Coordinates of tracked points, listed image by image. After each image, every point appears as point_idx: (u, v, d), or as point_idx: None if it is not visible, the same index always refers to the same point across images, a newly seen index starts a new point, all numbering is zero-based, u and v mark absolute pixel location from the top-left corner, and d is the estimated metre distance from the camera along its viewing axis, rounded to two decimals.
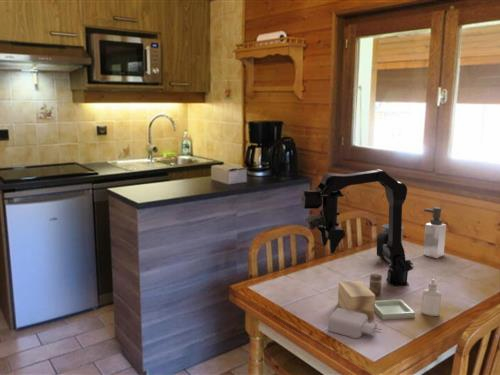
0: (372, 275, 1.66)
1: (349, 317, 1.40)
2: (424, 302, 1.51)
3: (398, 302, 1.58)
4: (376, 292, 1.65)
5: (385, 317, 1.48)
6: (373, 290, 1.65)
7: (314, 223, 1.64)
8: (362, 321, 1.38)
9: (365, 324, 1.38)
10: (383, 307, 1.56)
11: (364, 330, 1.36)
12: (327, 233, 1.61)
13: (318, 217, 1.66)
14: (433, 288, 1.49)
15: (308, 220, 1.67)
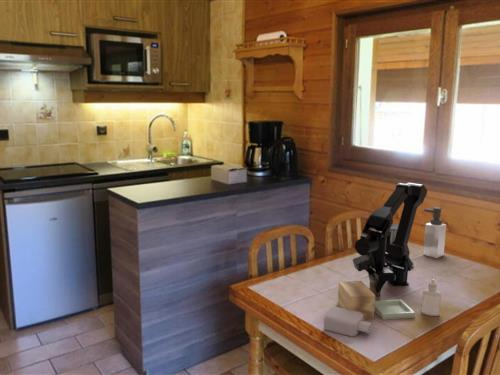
0: None
1: (345, 315, 1.41)
2: (424, 302, 1.51)
3: (398, 302, 1.58)
4: None
5: (385, 317, 1.48)
6: (373, 290, 1.65)
7: (363, 265, 1.59)
8: (358, 319, 1.39)
9: (361, 322, 1.39)
10: (383, 307, 1.56)
11: (360, 328, 1.37)
12: (377, 276, 1.57)
13: (366, 258, 1.62)
14: (433, 288, 1.49)
15: (356, 261, 1.63)
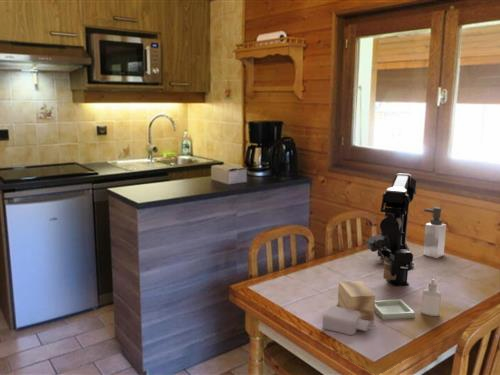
0: None
1: (343, 314, 1.41)
2: (424, 302, 1.51)
3: (398, 302, 1.58)
4: (391, 276, 1.51)
5: (385, 317, 1.48)
6: (388, 273, 1.51)
7: (377, 245, 1.46)
8: (356, 318, 1.40)
9: (359, 321, 1.40)
10: (383, 307, 1.56)
11: (358, 327, 1.38)
12: (393, 257, 1.44)
13: (381, 238, 1.49)
14: (433, 288, 1.49)
15: (369, 241, 1.50)
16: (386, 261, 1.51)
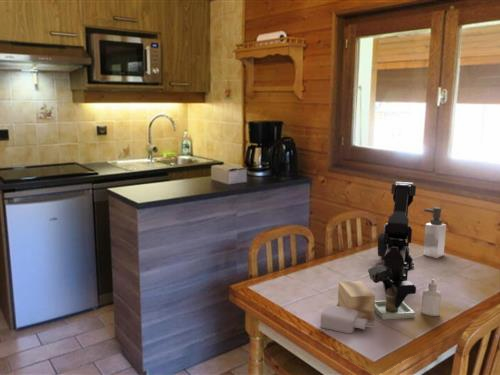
0: (389, 289, 1.52)
1: (341, 313, 1.42)
2: (424, 302, 1.51)
3: None
4: (393, 309, 1.51)
5: (385, 317, 1.48)
6: (390, 306, 1.51)
7: (380, 277, 1.46)
8: (354, 316, 1.41)
9: (357, 319, 1.41)
10: (383, 307, 1.56)
11: (356, 325, 1.39)
12: (396, 289, 1.43)
13: (383, 269, 1.49)
14: (433, 288, 1.49)
15: (372, 272, 1.49)
16: (388, 294, 1.51)
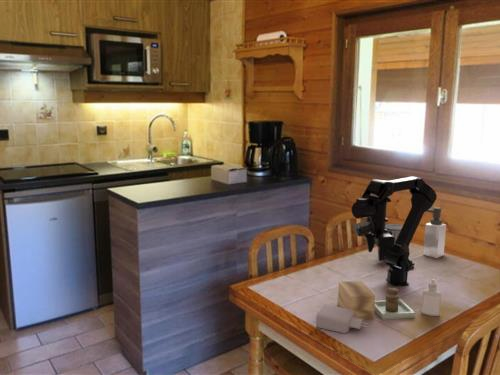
0: (388, 289, 1.53)
1: (336, 313, 1.42)
2: (424, 302, 1.51)
3: (398, 302, 1.58)
4: (394, 308, 1.51)
5: (385, 317, 1.48)
6: (390, 306, 1.51)
7: (363, 230, 1.61)
8: (349, 316, 1.41)
9: (352, 319, 1.41)
10: (383, 307, 1.56)
11: (351, 325, 1.39)
12: (377, 240, 1.59)
13: (366, 224, 1.64)
14: (433, 288, 1.49)
15: (356, 227, 1.65)
16: (388, 294, 1.51)
